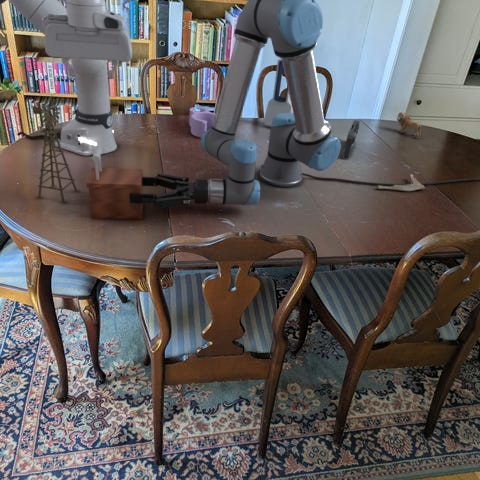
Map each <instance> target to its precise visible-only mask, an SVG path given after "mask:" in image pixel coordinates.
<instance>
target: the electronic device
mask: <svg viewBox="0 0 480 480" xmlns="http://www.w3.org/2000/svg"><path fill="white" fill-rule="evenodd" d="M276 63H277V64H276V72H275V79H274V87H273V88H274V89H273V95H272V98H271V99H270V100H268V102H267V106H266V111H265V114H264V118H263V125H264V126H265V127H266V128H271V124H272V119H273V117H274V116H275V115H277V114H281V113H293V109H292V104H291V100H290V95H289V91H288V86H287V85H286V91H285V92H286V93H285V97H283V96H281V95H280V94H281V93H280V92H281V85H282V77H283V72H284V68H283V63H282V59H281V58H279V59H278V60H277V62H276Z"/></svg>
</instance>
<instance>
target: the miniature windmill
mask: <svg viewBox="0 0 480 480" xmlns="http://www.w3.org/2000/svg"><path fill="white" fill-rule="evenodd" d="M55 98H56V97H55V96H53V95H51V96H50V95H48V98H47V97H45V101H43V104H44V105H41V106H42V107H38V106H35V105H31V107H32V114H33V115H41V119H42V121H41V122H42V124H43V126H44V128H43V129H41V130H39V133H43V134H44V135H45V137H44V138H42V140H43V146H42V148H43V150H42V154H41V157H42V158H41V162H40V164H41V166H40V175H39V177H38V179H39V184H38V185H37V187H38V196H37V197H38V198H41V197H42V188H44V189H49V190H55V191H59V193H60V198H61V202H62V203H63V202H65V197H64V192H63V191H64V190H65V189H66V188H67V187H68V186H70V185H72V187H73V190H74V191H75V192H77V191H78V189H77V186H76V183H75V181H76V180H75V179H74V178H73V176H72V175H73V174H72V173H71V169H70V167H69V166H70V164H69V163H68V161H67V159H66V156H65V154H64V150H63V149H62V148H61V146H60V143H59V140H58V139H59V138H57V135H56V133H58V132H59V131H61V130H62V129H61V127H59V128H58V127H57V128H56V126H57V124H58V123H59V121H58V120H60V116H59V115H60V113H61V111H58V110H60V106H59V102H57V101H58V99H57V98H56V99H55ZM58 106H59V107H58ZM52 134H54V136H53V137H52ZM47 136H48V137H47ZM47 138H49V139H47ZM52 138H53V139H52ZM56 141H57V143H58V146H59V147H58V149H56V148H55V142H56ZM47 146H49V150H46V149H47ZM56 152H58V154H56ZM59 156H61V157H62V159H63V162H58V160H57V158H58V157H59ZM46 157H47V158H46ZM53 159H54V161H53ZM48 160H50V161H49V162H50V163H48V164H47V165H45V162H47V161H48ZM54 164H55V170H54ZM59 165H60V166H61V165H62V166H64V167H62V168H61V169H60V170H59ZM49 166H50V169H46V168H48V167H49ZM64 170H67V172H68V176H69V178H68V177H63V176H60V173H61V172H62V171H64ZM48 173H50V176H49V177H47V178H46V179H45V180H44V181H43V177H44V176H46V175H47V174H48ZM54 173H55V174H56V175H54ZM55 178H56V179H57V181H58V182H57V183H58V187H59V188H57V187H55ZM50 179H51V186H46V185H45V186H44V184H45V183H46V182H47V181H48V180H49V181H50ZM61 179H62V180H67V181H70V182H69V183H67V184H66V185H65V186H63V185H62V182H61ZM62 186H63V187H62Z"/></svg>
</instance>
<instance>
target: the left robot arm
mask: <svg viewBox="0 0 480 480" xmlns="http://www.w3.org/2000/svg"><path fill="white" fill-rule="evenodd" d="M8 1H9V2H10V4H11V5H12V6H13V7H14V8H15V9H16V10H17V11H18V12H19V14H21V15H22V16H23V17H24V18H25V19H26V20H27V21H28V22H29V23H30V24H32V25H33V26H34V28H36V29H37V30H38V31H39V32H41V33H42V34H43V35H44V49H45V53H46V54H47V56H48V57H51V58H61V63H62V64H63V65H64V67H65V69H67V74H68V75H67V76H68V77H71V78H72V77H73V79H74V83H75V88H76V90H75V91H76V99H77V108H76V109H75V110H74V111H71V115H72V116H74V115H75V116H74V118H73V119H72V120H71V121H69V122H68V123H67V124H65V125H64V126H63V127H60V129H62V130H61V131H59V132H58V133H56V135H57V138H59V139H58V140H59V143H60V146H61V148H62V150H65V151H69V152H72V153H74V154H78V155H80V156H84V157H85V156H86V157H87V156H93V155H94V152H95V149H96V147H101V148H102V153H101V155H105V154H108V153H111V152H114V151H115V150H116V149H117V148H118V145H117V142H116V140H115V135H114V132H115V131H114V130H113V111H112V109H111V97H110V86H109V80H115V71H116V70H117V68H118V65H119V62H126V63H129V62H130V61H131V60H132V59H133V45H132V40H131V35H130V33H129V30H128V29H127V28H125V27H126V25H127V21H126V17H125V16H123V15H121V14H118V13H116V12H113V11H111V10H108V9H107V6H106V5H107V3H106V0H65V6H64V5H63V3H61V2H60V1H59V0H8ZM5 2H7V0H0V5H2V4H4V3H5ZM69 61H71V64H70V63H69ZM107 61H109V62H110V61H111V66H113V67H112V69H110V70H108V69H107V68H108V67H107ZM21 135H22V136H24V137H26V139H27V138H28V139H31V140H33V139H34V140H35V139H40V138H45V134H39V135H29V134H27V133H26V132H24V131H19V132H18V133H17V134H16V136H21ZM48 136H49V135H47V137H48ZM52 137H55V135H54V134H52ZM52 139H53V138H52ZM47 140H49V138H47ZM53 140H54V139H53ZM54 147H57V148H59V146H58V143H57V141H55V142H54Z"/></svg>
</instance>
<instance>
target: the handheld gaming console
mask: <svg viewBox="0 0 480 480" xmlns="http://www.w3.org/2000/svg"><path fill="white" fill-rule="evenodd" d="M360 123H361V122H360V120H358V119H354V120H353V122H352V124H351V127H350V129H349V131H348V133H347V135H346V136H347V137H346V141H345V146H344V150H343V154H342V158H343V159H349V158H350V156H351V153H352V151H353V148H354V145H355V144H356V141H357V136H358V133H359V129H360Z"/></svg>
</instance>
